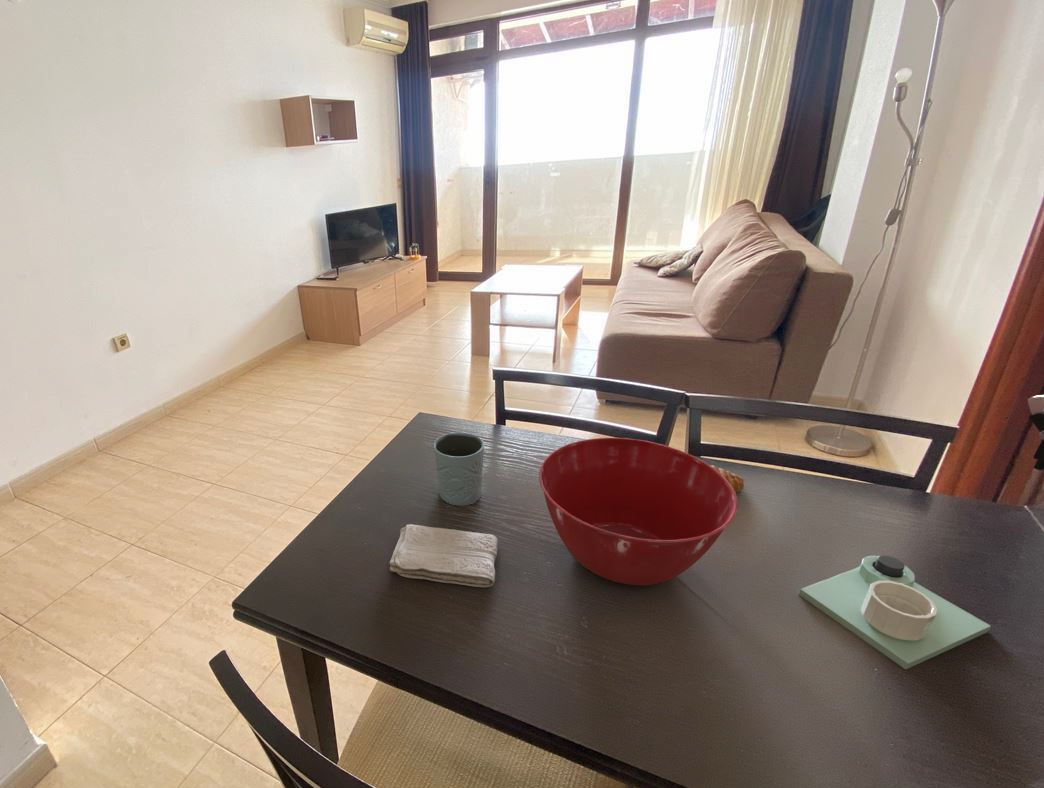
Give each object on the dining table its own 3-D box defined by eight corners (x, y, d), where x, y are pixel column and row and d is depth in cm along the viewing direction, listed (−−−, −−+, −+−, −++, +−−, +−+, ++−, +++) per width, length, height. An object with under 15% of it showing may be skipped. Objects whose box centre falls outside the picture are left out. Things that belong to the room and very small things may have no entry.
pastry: (738, 479, 109) (742, 463, 107) (745, 499, 103) (750, 482, 101) (686, 473, 112) (689, 458, 110) (690, 492, 106) (693, 475, 105)
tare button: (883, 561, 83) (887, 552, 82) (905, 574, 80) (909, 565, 79) (869, 567, 82) (872, 558, 81) (891, 580, 79) (895, 571, 79)
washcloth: (402, 532, 102) (401, 519, 101) (499, 543, 97) (499, 529, 96) (387, 577, 92) (386, 563, 90) (494, 591, 87) (494, 576, 86)
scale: (874, 566, 86) (880, 551, 84) (987, 632, 73) (996, 616, 72) (798, 594, 82) (803, 579, 80) (905, 669, 69) (913, 653, 68)
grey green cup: (454, 514, 106) (453, 462, 101) (425, 490, 114) (423, 441, 109) (494, 496, 110) (495, 445, 105) (463, 475, 118) (462, 427, 113)
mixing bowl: (741, 637, 76) (766, 551, 69) (531, 604, 84) (535, 524, 77) (696, 515, 100) (712, 443, 93) (537, 499, 108) (541, 432, 102)
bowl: (881, 599, 78) (891, 575, 76) (937, 634, 72) (950, 608, 70) (847, 612, 77) (857, 588, 75) (902, 649, 71) (914, 624, 69)
